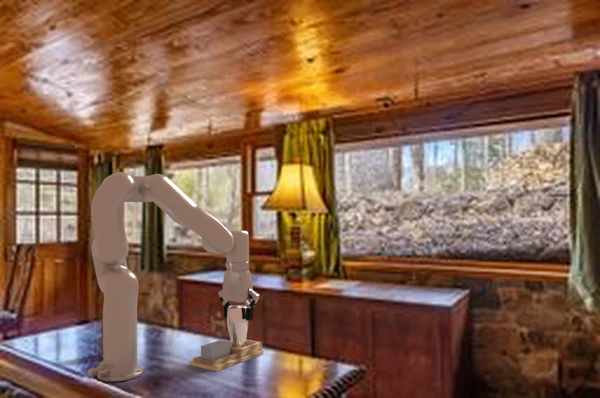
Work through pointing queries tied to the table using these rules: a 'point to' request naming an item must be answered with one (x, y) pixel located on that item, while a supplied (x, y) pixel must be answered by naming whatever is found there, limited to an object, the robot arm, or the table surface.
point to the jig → (231, 357)
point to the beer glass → (237, 325)
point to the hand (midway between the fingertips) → (238, 318)
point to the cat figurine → (101, 339)
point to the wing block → (215, 350)
